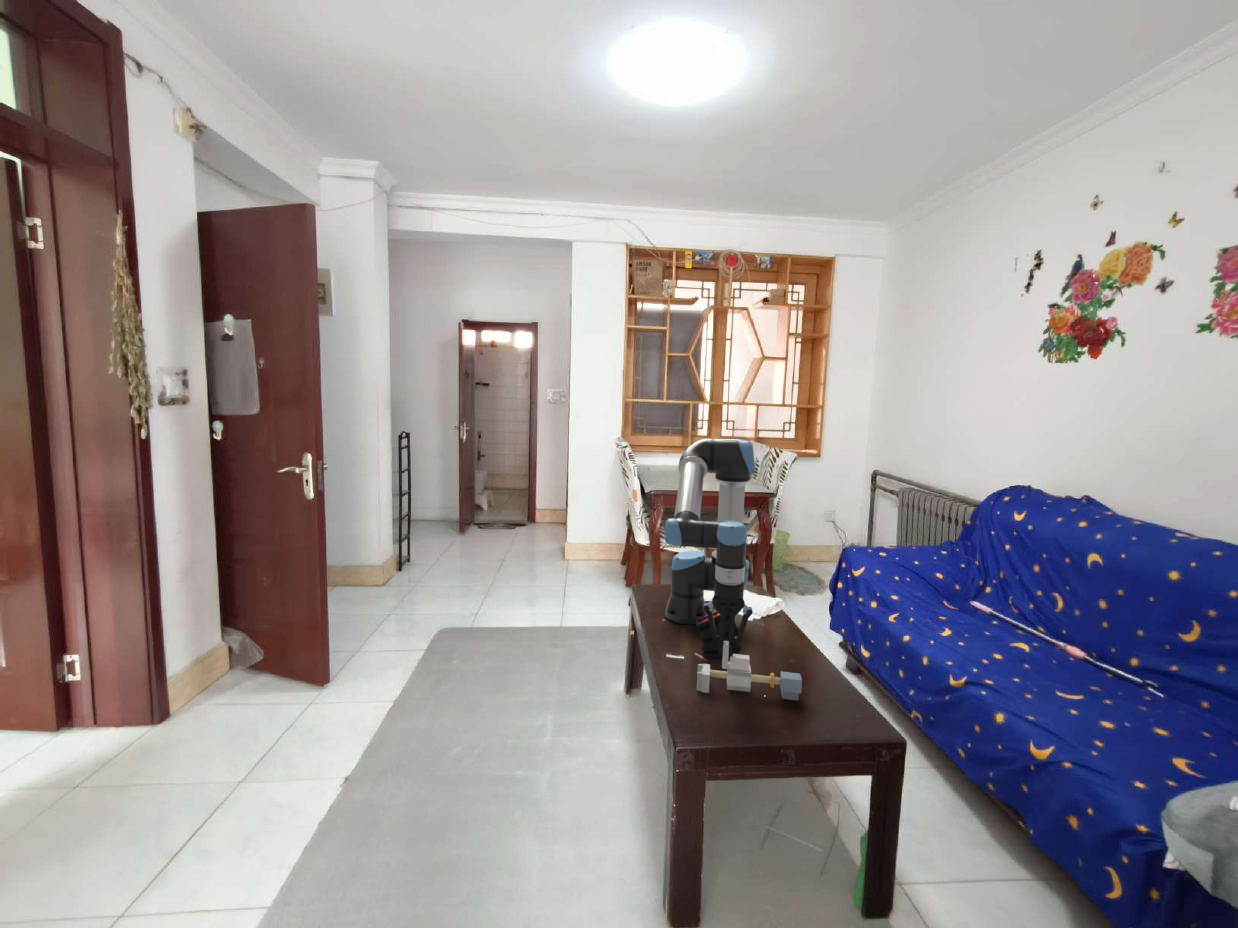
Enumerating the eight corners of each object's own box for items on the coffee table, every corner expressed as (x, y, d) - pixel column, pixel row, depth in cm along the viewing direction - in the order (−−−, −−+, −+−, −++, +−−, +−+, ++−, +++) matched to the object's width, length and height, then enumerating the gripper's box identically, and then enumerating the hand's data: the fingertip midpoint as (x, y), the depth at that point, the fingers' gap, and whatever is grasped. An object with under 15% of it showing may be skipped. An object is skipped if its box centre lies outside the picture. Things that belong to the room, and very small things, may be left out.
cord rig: (697, 680, 150) (698, 660, 149) (798, 691, 145) (799, 671, 145) (696, 691, 144) (697, 670, 144) (801, 703, 140) (802, 682, 139)
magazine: (750, 653, 163) (731, 610, 161) (710, 671, 163) (691, 628, 161) (747, 648, 167) (728, 605, 165) (707, 665, 167) (689, 623, 165)
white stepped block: (726, 679, 148) (728, 650, 147) (749, 681, 147) (750, 653, 146) (726, 689, 143) (728, 659, 142) (750, 691, 142) (751, 662, 141)
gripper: (703, 583, 140) (699, 670, 143) (755, 587, 138) (750, 675, 140) (704, 574, 147) (700, 657, 150) (754, 578, 145) (749, 662, 148)
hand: (724, 666), depth 145 cm, fingers closed
